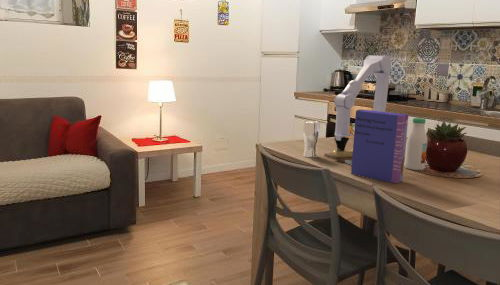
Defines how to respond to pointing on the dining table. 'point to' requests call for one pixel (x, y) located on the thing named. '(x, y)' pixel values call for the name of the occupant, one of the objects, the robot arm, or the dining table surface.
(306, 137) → the beer glass
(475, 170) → the dining table surface
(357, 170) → the purple book
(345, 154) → the swing bar
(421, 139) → the milk bottle
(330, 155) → the door and jamb
